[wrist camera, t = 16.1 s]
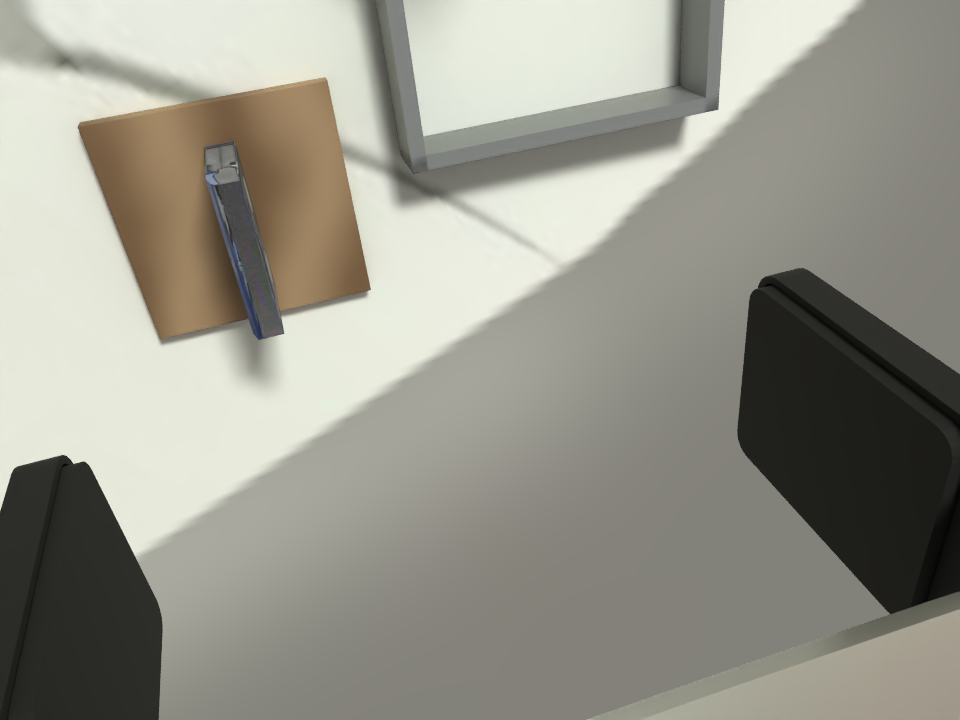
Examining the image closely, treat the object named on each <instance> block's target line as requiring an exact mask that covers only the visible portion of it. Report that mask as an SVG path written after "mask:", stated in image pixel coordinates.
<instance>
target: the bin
mask: <svg viewBox="0 0 960 720" xmlns="http://www.w3.org/2000/svg"><path fill="white" fill-rule="evenodd" d="M724 1H725V0H682V24H681V56H680V85H677V86H672V87H667V88H663V89H658V90H653V91H648V92H643V93H638V94H633V95H628V96H623V97H618V98H613V99H608V100H603V101H598V102H593V103H588V104H583V105H578V106H573V107H568V108H563V109H558V110H553V111H548V112H544V113H539V114H534V115H529V116H524V117H519V118H514V119H509V120H504V121H499V122H494V123H489V124H484V125H479V126H474V127H469V128H464V129H459V130H454V131H449V132H444V133H439V134H434V135H430V136H425V137H423V133H422V126H421V119H420V113H419V106H418V99H417V93H416V86H415V79H414V72H413V66H412V59H411V52H410V45H409V39H408V32H407V25H406V19H405V12H404V5H403V0H376V6H377V12H378V18H379V24H380V30H381V36H382V42H383V48H384V54H385V60H386V66H387V72H388V78H389V84H390V90H391V96H392V102H393V108H394V114H395V121H396V127H397V133H398V139H399V145H400V151H401V156H402V158H403V159H404V160H405V162H406V163H407V165H408V166H409V168H410V169H411V171H412V172H413V173H418V172H423V171H428V170H432V169H437V168H442V167H447V166H452V165H456V164H461V163H466V162H471V161H475V160H480V159H485V158H490V157H494V156H499V155H504V154H509V153H514V152H518V151H523V150H528V149H533V148H537V147H542V146H547V145H552V144H556V143H561V142H566V141H571V140H576V139H580V138H585V137H590V136H595V135H599V134H604V133H609V132H614V131H618V130H623V129H628V128H633V127H638V126H642V125H647V124H652V123H657V122H661V121H666V120H671V119H676V118H680V117H685V116H690V115H695V114H700V113H704V112H709V111H714V110H718V105H719V87H720V70H721V53H722V36H723V18H724Z"/></svg>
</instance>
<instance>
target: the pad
mask: <svg viewBox="0 0 960 720" xmlns="http://www.w3.org/2000/svg"><path fill="white" fill-rule="evenodd" d="M78 129H79V132H80V134H81V137H82V139H83V142H84V144H85V147H86V150H87V152H88V155H89V157H90V160H91V162H92V165H93V168H94V170H95V173H96V175H97V178H98V180H99V183H100V186H101V188H102V191H103V193H104V196H105V198H106V201H107V204H108V206H109V209H110V211H111V214H112V216H113V219H114V221H115V224H116V227H117V229H118V232H119V234H120V237H121V239H122V242H123V245H124V247H125V250H126V252H127V255H128V257H129V260H130V263H131V265H132V268H133V270H134V273H135V275H136V278H137V281H138V283H139V286H140V288H141V291H142V293H143V296H144V299H145V301H146V304H147V306H148V309H149V311H150V314H151V317H152V319H153V322H154V324H155V327H156V329H157V332H158V334H159V337H160V339H163V338H167V337H172V336H176V335H180V334H185V333H189V332H193V331H197V330H202V329H206V328H210V327H214V326H219V325H223V324H227V323H232V322H236V321H240V320H244V319H249V318H248V314H247V311H246V308H245V305H244V302H243V298H242V295H241V292H240V289H239V286H238V282H237V279H236V276H235V273H234V270H233V266H232V263H231V260H230V257H229V254H228V250H227V247H226V244H225V241H224V238H223V235H222V231H221V228H220V225H219V222H218V219H217V215H216V212H215V209H214V206H213V203H212V199H211V196H210V193H209V190H208V187H207V183H206V180H205V159H204V147H205V146H210V145H215V144H220V143H225V142H230V141H235V143H236V147H237V151H238V154H239V158H240V161H241V165H242V168H243V172H244V175H245V179H246V182H247V186H248V189H249V193H250V196H251V200H252V203H253V207H254V211H255V214H256V218H257V221H258V225H259V228H260V232H261V235H262V239H263V242H264V246H265V249H266V253H267V256H268V260H269V264H270V267H271V271H272V274H273V278H274V281H275V286H276V291H277V297H278V302H279V308H280V311H283V310H287V309H291V308H296V307H300V306H304V305H308V304H313V303H317V302H321V301H326V300H330V299H334V298H338V297H343V296H347V295H351V294H355V293H360V292H364V291H368V290H371V288H370V284H369V279H368V274H367V269H366V264H365V260H364V255H363V250H362V245H361V240H360V236H359V231H358V226H357V221H356V216H355V212H354V207H353V202H352V197H351V192H350V188H349V183H348V178H347V173H346V168H345V164H344V159H343V154H342V149H341V144H340V140H339V135H338V130H337V125H336V120H335V115H334V111H333V106H332V101H331V96H330V91H329V87H328V82H327V80H326V78H319V79H314V80H309V81H303V82H298V83H292V84H287V85H281V86H276V87H270V88H265V89H260V90H254V91H249V92H243V93H238V94H232V95H227V96H222V97H216V98H211V99H205V100H200V101H194V102H189V103H183V104H178V105H173V106H167V107H162V108H156V109H151V110H145V111H140V112H134V113H129V114H124V115H118V116H113V117H107V118H102V119H96V120H91V121H86V122H80V123H79V125H78Z"/></svg>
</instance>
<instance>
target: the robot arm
mask: <svg viewBox="0 0 960 720" xmlns="http://www.w3.org/2000/svg"><path fill="white" fill-rule="evenodd" d="M737 431H738V440H739V443H740V446H741V448H742V450H743V452H744V453H745V455H746V456H747V457H748V458H749V459H750V460H751V462H752V463H753V464H754V465H755V466H756V467H757V468H758V469H759V470H760V472H761V473H762V474H763V475H764V476H765V477H766V478H767V479H768V480H769V481H770V482H771V484H772V485H773V486H774V487H775V488H776V489H777V490H778V491H779V492H780V493H781V495H782V496H783V497H784V498H785V499H786V500H787V501H788V502H789V504H790V505H791V506H792V507H793V508H794V509H795V510H796V511H797V512H798V513H799V515H800V516H801V517H802V518H803V519H804V520H805V521H806V522H807V523H808V524H809V526H810V527H811V528H812V529H813V530H814V531H815V532H816V533H817V534H818V535H819V537H820V538H821V539H822V540H823V541H824V542H825V543H826V544H827V545H828V546H829V547H830V549H831V550H832V551H833V552H834V553H835V554H836V555H837V556H838V557H839V558H840V560H841V561H842V562H843V563H844V564H845V565H846V566H847V567H848V568H849V570H851V572H852V573H853V574H854V575H855V576H856V577H857V578H858V580H859V581H860V582H862V584H863V585H864V586H865V587H866V588H867V589H868V591H870V593H871V594H872V595H873V596H874V597H875V598H876V599H877V600H878V602H879V603H880V604H881V605H882V606H883V607H884V608H885V609H886V610H887V611H888V612H889V613H890V615H888V616H885V617H882V618H879V619H876V620H873V621H870V622H867V623H864V624H861V625H858V626H855V627H852V628H850V629H847V630H844V631H841V632H838V633H835V634H832V635H829V636H826V637H823V638H820V639H817V640H815V641H812V642H809V643H806V644H803V645H800V646H797V647H794V648H791V649H788V650H785V651H782V652H780V653H777V654H774V655H771V656H768V657H765V658H762V659H759V660H756V661H753V662H750V663H748V664H745V665H742V666H739V667H736V668H733V669H730V670H727V671H725V672H722V673H719V674H716V675H713V676H710V677H708V678H704V679H702V680H699V681H696V682H693V683H690V684H687V685H684V686H681V687H679V688H676V689H673V690H670V691H667V692H664V693H661V694H659V695H656V696H653V697H650V698H647V699H644V700H641V701H638V702H636V703H633V704H630V705H627V706H624V707H621V708H619V709H616V710H613V711H610V712H607V713H604V714H601V715H598V716H596V717H593V718H590V719H587V720H960V374H959V373H957V372H955V371H954V370H952V369H951V368H950V367H948V366H947V365H945V364H944V363H943V362H941V361H940V360H938V359H937V358H935V357H934V356H932V355H931V354H929V353H928V352H927V351H925V350H924V349H922V348H920V347H919V346H918V345H916V344H915V343H913V342H912V341H911V340H909V339H908V338H906V337H905V336H903V335H902V334H900V333H899V332H897V331H896V330H894V329H893V328H892V327H890V326H889V325H887V324H886V323H884V322H883V321H881V320H880V319H878V318H877V317H876V316H874V315H873V314H871V313H870V312H868V311H867V310H865V309H864V308H862V307H861V306H860V305H858V304H857V303H855V302H854V301H852V300H851V299H849V298H848V297H846V296H845V295H843V294H842V293H841V292H839V291H837V290H836V289H835V288H833V287H832V286H830V285H829V284H827V283H826V282H824V281H823V280H821V279H820V278H819V277H817V276H816V275H814V274H813V273H811V272H810V271H808V270H806V269H804V268H798V269H794V270H790V271H786V272H782V273H778V274H774V275H770V276H766V277H764V278H763V279H762V280H761V282H760V283H759V286H758V289H755V290H754V291H753V292H752V294H751V295H750V300H749V310H748V321H747V332H746V343H745V354H744V365H743V375H742V386H741V398H740V408H739V419H738V430H737ZM161 651H162V617H161V613H160V608H159V605H158V602H157V600H156V598H155V596H154V594H153V592H152V590H151V588H150V586H149V584H148V582H147V580H146V578H145V576H144V574H143V572H142V570H141V568H140V566H139V564H138V562H137V560H136V558H135V556H134V554H133V552H132V550H131V548H130V546H129V544H128V542H127V540H126V538H125V536H124V534H123V532H122V530H121V528H120V526H119V524H118V522H117V520H116V518H115V516H114V514H113V512H112V510H111V508H110V506H109V504H108V502H107V500H106V498H105V496H104V494H103V492H102V490H101V488H100V486H99V484H98V482H97V479H96V477H95V475H94V473H93V471H92V470H91V468H90V466H89V465H88V464H87V463H86V462H80V463H76V464H73V463H72V461H71V460H70V459H69V458H68V457H67V456H65V455H61V456H57V457H53V458H49V459H45V460H41V461H37V462H33V463H30V464H26V465H22V466H18V467H16V468H15V469H14V470H13V472H12V474H11V477H10V481H9V484H8V487H7V491H6V494H5V497H4V501H3V504H2V508H1V511H0V720H158V719H159V697H160V673H161Z"/></svg>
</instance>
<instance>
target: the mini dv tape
mask: <svg viewBox="0 0 960 720" xmlns="http://www.w3.org/2000/svg"><path fill="white" fill-rule="evenodd" d="M204 159H205V180H206V183H207V187H208V190H209V193H210V196H211V199H212V203H213V206H214V209H215V212H216V215H217V219H218V222H219V225H220V228H221V231H222V235H223V238H224V241H225V244H226V247H227V250H228V254H229V257H230V260H231V263H232V266H233V270H234V273H235V276H236V279H237V282H238V286H239V289H240V292H241V295H242V298H243V302H244V305H245V308H246V311H247V314H248V318H249V321H250V324H251V327H252V330H253V333H254V335H255V336H256V337H257V338H258V339H259V340H260V339H264V338H269V337H273V336H277V335H281V334H284V330H283V325H282V319H281V314H280V308H279V302H278V297H277V291H276V286H275V281H274V278H273V274H272V271H271V267H270V264H269V260H268V256H267V253H266V249H265V246H264V242H263V239H262V235H261V232H260V228H259V225H258V221H257V218H256V214H255V211H254V207H253V203H252V200H251V196H250V193H249V189H248V186H247V182H246V179H245V175H244V172H243V168H242V165H241V161H240V158H239V154H238V151H237V147H236V143H235V141H230V142H225V143H220V144H215V145H210V146H205V147H204Z"/></svg>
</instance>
